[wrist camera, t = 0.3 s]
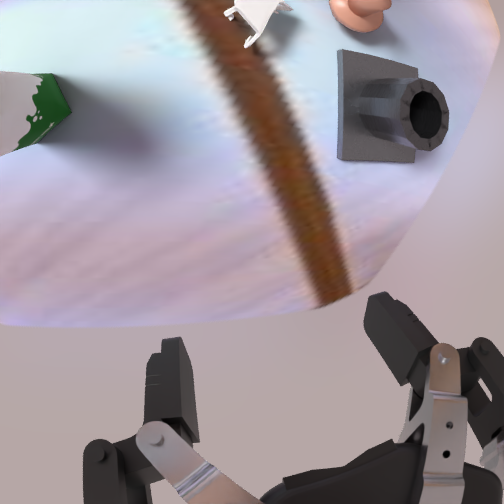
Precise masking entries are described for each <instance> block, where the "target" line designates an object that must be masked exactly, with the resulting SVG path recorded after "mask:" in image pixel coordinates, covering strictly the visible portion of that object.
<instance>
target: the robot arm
mask: <svg viewBox="0 0 504 504" xmlns="http://www.w3.org/2000/svg"><path fill="white" fill-rule="evenodd" d="M364 329H365V332H366V334H367V335H368V337H369V338H370V340H371V341H372V342H373V344H374V346H375V347H376V349H377V350H378V352H379V353H380V355H381V356H382V358H383V359H384V361H385V362H386V364H387V365H388V367H389V369H390V370H391V371H392V373H393V375H394V376H395V378H396V379H397V381H398V383H399V384H400V386H403V385H405V384H407V383H410V384H411V388H410V393H409V400H408V407H407V413H406V419H405V424H404V428H403V430H402V432H401V434H400V437H399V440H398V443H394V442H393V440H392V439H390V440H388V441H386V442H384V443H382V444H379V445H377V446H375V447H373V448H371V449H368V450H367V451H365V452H364V453H363V454H361V455H360V456H358V457H357V458H355V459H354V460H353V461H351V462H350V463H348V464H347V465H345V466H343V467H337V468H328V469H317V470H310V471H307V472H303V473H299V474H296V475H292V476H288V477H285V478H283V482H282V483H280V484H279V485H277V486H275V487H273V488H272V489H270V490H269V491H268V492H266V493H265V494H264V495H263V496H262V497H261V498H260V499H259V500H258V499H257V498H255V497H254V496H252V495H251V494H250V493H248V492H247V491H246V490H244V489H243V488H242V487H240V486H239V485H237V484H236V483H235V482H234V481H232V480H231V479H230V478H228V477H227V476H226V475H225V474H223V473H222V472H221V471H220V470H218V469H217V468H216V467H214V466H213V465H211V464H210V463H208V462H207V461H206V460H205V459H204V458H203V457H201V456H200V455H199V454H198V453H197V452H196V451H195V450H194V449H193V443H198V442H200V439H199V431H198V422H197V413H196V402H195V392H194V381H193V380H194V379H193V370H192V366H191V361H190V359H189V356H188V353H187V351H186V348H185V346H184V343H183V340H182V338H181V337H175V338H168V339H163V340H162V345H161V346H162V347H161V353H154V354H152V355H151V357H150V359H149V361H148V363H147V367H146V383H145V385H146V387H145V405H144V422H143V425H142V427H141V428H140V429H139V430H138V432H137V434H135V435H134V436H132V437H130V438H128V439H125V440H122V441H119V442H116V443H113V444H112V443H110V442H109V441H107V440H103V439H97V440H93V441H91V442H90V443H89V444H88V445H87V446H86V448H85V450H84V453H83V454H84V455H83V497H84V504H153V503H152V497H151V489H150V484H151V483H154V482H156V481H160V480H162V479H166V480H167V481H168V482H169V483H170V484H171V485H172V486H173V487H174V488H175V489H176V490H177V492H178V494H179V495H180V496H181V497H182V498H183V499H184V500H185V501H186V502H187V503H188V504H502V495H503V490H504V357H503V355H502V354H501V353H500V352H499V350H498V349H497V348H496V346H495V345H494V344H493V343H492V342H491V341H490V340H488V339H486V338H483V337H479V338H476V339H475V340H474V341H473V343H472V345H471V346H470V347H467V348H461V349H455V348H454V347H453V346H451V345H450V344H446V343H439V342H438V341H437V340H436V339H435V338H434V337H433V335H432V334H431V333H430V332H429V331H428V329H427V328H426V327H425V326H424V325H423V323H422V322H421V321H419V319H418V318H417V316H416V315H415V314H413V312H412V311H411V310H410V308H409V307H408V306H407V305H405V304H404V303H402V302H400V301H399V300H394V299H393V298H392V297H391V296H390V295H389V294H388V293H387V292H381V293H377V294H374V295H371V296H369V298H368V303H367V308H366V312H365V317H364ZM480 378H481V379H482V380H483V382H484V383H485V384H486V386H487V388H488V389H489V391H490V392H491V394H492V402H491V401H490V400H489V398H488V397H487V395H486V393H485V392H484V390H483V389H482V387H481V386H480V384H479V383H478V381H479V379H480ZM467 421H468V423H469V424H470V426H471V428H472V430H473V432H474V434H475V435H476V437H477V439H478V441H479V443H480V445H481V447H482V449H483V454H482V457H481V458H480V464H481V465H482V466H484V468H481V467H478V466H475V465H472V464H469V463H466V462H464V457H465V448H466V436H467Z"/></svg>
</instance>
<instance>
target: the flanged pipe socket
mask: <svg viewBox="0 0 504 504" xmlns="http://www.w3.org/2000/svg"><path fill="white" fill-rule="evenodd" d="M337 59H338V145H337V158H338V159H341V160H369V161H393V162H410V163H414V160H415V149H418V150H426V151H431V150H433V149H434V148H436V147H437V146H439V145H440V144H442V141H443V139H444V137H445V135H446V133H447V131H448V123H449V110H448V107H447V103H446V100H445V97H444V95H443V93H442V92H441V91H440V90H439V88H438V87H437V86H436V85H435V84H434V83H433V82H430V81H427V80H424V79H421V78H418V68H415V67H412V66H408V65H405V64H402V63H399V62H395V61H392V60H388V59H384V58H380V57H376V56H372V55H368V54H363V53H359V52H354V51H349V50H343V49H342V50H338V51H337Z"/></svg>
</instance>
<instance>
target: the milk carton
mask: <svg viewBox="0 0 504 504" xmlns="http://www.w3.org/2000/svg"><path fill="white" fill-rule="evenodd" d="M71 113H72V112H71V110H70V108H69V106H68V104H67V102H66V100H65V98H64V96H63V94H62V92H61V90H60V88H59V86H58V84H57V82H56V80H55V78H54V76H53V74H52V73H50V74H28V73H18V72H6V71H0V156H2V155H5V154H7V153H10V152H13V151H15V150H18V149H21V148H24V147H27V146H30V145H33V144H36V143H37V142H39V141H40V140H41V139H42V138H43V137H44V136H45V135H46V134H47V133H48V132H49V131H51V130H52V129H53V128H54V127H55V126H56V125H57V124H59V123H60V122H61V121H62V120H63V119H64V118H66V117H67V116H68V115H69V114H71Z"/></svg>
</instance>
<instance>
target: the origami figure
mask: <svg viewBox="0 0 504 504" xmlns="http://www.w3.org/2000/svg"><path fill="white" fill-rule="evenodd" d="M284 2H285V1H283V0H234V3H235V6H234V7H232V8H230V9H228V10H226V11H225V12H224V14H225V16H226V17H229V18H228V19H229V20H230V21H231V20H232V19H233V18H234V15H233V14H232V13H233V12H235V11H238V12H239V13H240V15H241V16H242V17H243V18H244V19H245V20H246V21H247V22H248V23H249V25H250V26H251V27H252V28H253V29H254V30H255V31H256V34H255V36H254V37H253V38H252V37H251V35H250V36H249V38H248V39H247V40H246V41H245V42H246V43H245V44H244V47H245V48H248V47H250V46H251V45H252V44H253V43H254V42H255V41H256V39H257V38H258V37H259V36H260V35H261V34H262V32H263V30H264V28H265V26H266V24H267V22H268V20H269V18H270V16H271V14H272V13H273V12H274V13H276V14H279V12H278V11H277V10H286V11H291V10H293V9H292V8H291V7H290V6H289V5H288V4H286V3H284ZM278 4H280V5H278Z"/></svg>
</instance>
